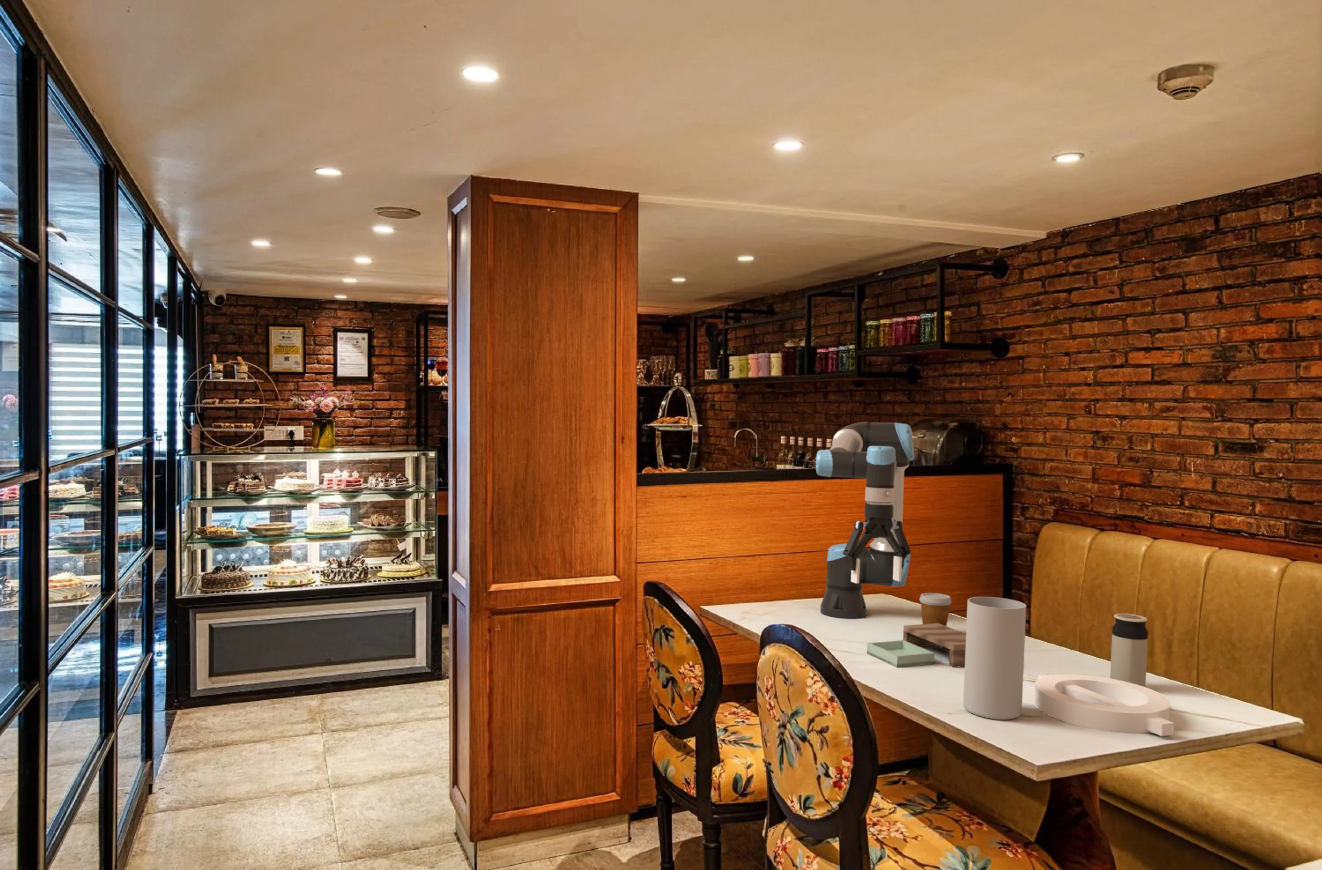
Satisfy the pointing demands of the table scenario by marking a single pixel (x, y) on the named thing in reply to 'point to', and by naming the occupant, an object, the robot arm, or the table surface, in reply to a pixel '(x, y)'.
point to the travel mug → (1129, 649)
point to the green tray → (900, 653)
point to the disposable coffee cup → (935, 608)
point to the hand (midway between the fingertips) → (876, 581)
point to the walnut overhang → (938, 640)
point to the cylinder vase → (994, 657)
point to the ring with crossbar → (1103, 704)
